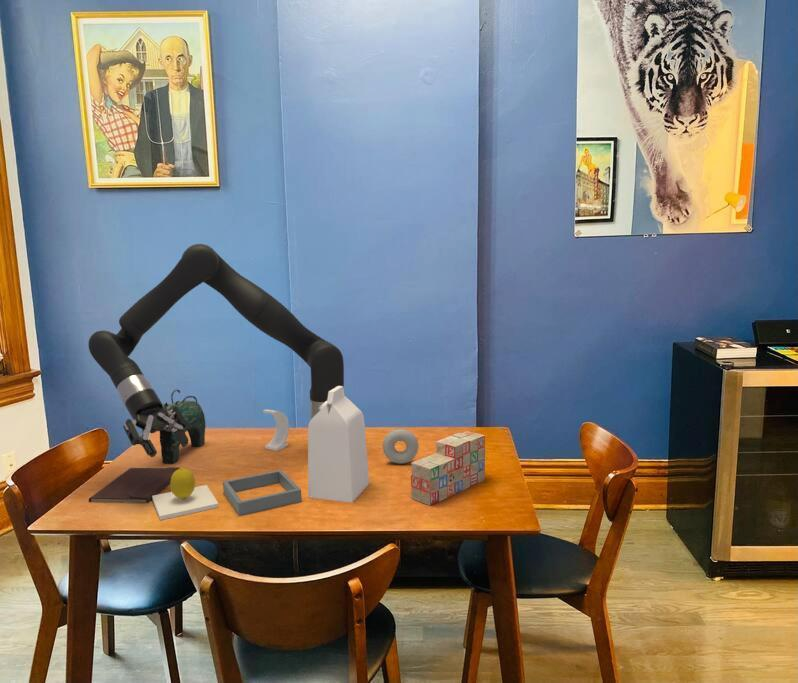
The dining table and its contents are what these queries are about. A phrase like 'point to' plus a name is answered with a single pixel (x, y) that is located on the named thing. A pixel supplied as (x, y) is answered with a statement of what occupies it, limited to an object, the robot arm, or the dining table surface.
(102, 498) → the notebook
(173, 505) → the board
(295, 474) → the dining table surface
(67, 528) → the dining table surface
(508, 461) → the dining table surface
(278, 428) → the headphone stand
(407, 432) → the donut
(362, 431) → the milk
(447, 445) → the stack of blocks
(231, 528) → the dining table surface
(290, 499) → the grey square frame
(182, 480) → the lemon
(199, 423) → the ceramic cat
